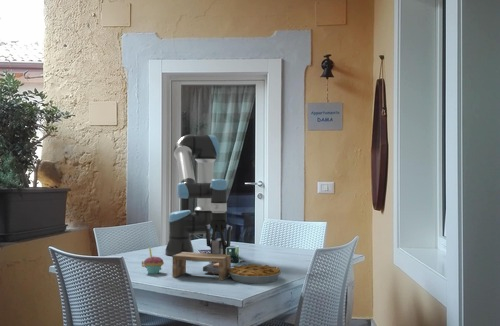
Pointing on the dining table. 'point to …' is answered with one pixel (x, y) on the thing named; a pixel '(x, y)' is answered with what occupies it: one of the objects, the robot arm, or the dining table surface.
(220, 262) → the shelf
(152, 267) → the cupcake
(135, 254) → the dining table surface
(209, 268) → the hook tool
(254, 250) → the dining table surface
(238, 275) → the pie
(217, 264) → the block
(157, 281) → the dining table surface
